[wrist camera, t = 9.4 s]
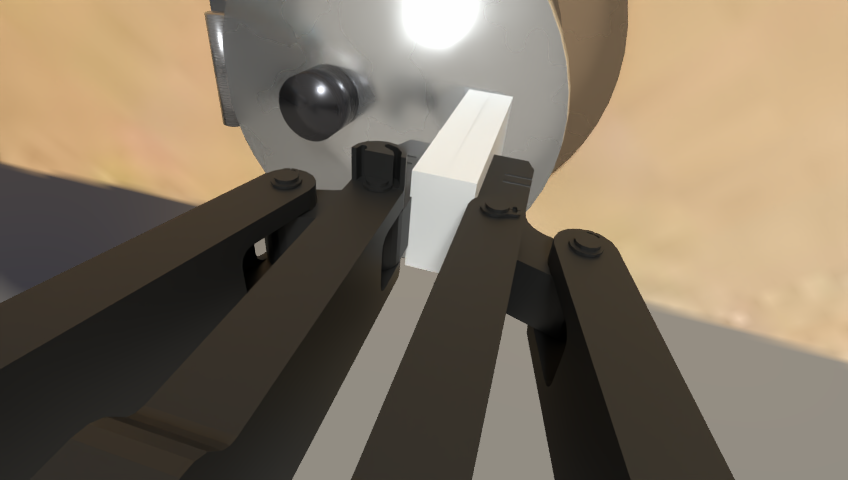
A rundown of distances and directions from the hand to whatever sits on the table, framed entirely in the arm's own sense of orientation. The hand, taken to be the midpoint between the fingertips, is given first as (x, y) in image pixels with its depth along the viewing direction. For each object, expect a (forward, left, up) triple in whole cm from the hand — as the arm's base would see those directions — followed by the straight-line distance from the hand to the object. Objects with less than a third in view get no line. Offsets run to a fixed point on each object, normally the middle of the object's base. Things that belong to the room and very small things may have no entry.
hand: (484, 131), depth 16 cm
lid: (-4, 0, -1) cm, 5 cm away
